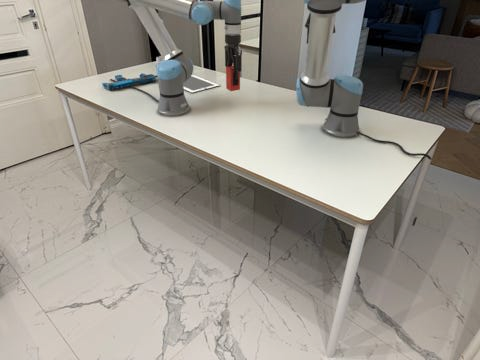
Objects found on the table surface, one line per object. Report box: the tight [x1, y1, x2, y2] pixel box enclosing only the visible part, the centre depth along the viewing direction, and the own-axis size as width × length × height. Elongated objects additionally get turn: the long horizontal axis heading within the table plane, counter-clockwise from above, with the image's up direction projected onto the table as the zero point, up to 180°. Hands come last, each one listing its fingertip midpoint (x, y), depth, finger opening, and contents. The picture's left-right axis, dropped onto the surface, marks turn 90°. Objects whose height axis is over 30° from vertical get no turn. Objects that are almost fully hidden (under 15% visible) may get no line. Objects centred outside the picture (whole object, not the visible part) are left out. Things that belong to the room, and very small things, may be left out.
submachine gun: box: [101, 73, 158, 91], centre depth 209 cm, size 34×4×25 cm
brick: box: [225, 65, 241, 92], centre depth 169 cm, size 5×5×11 cm
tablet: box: [183, 74, 221, 94], centre depth 207 cm, size 32×20×1 cm, turn 41°
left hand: (233, 83), depth 171 cm, fingers closed on brick, 5 cm apart
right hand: (317, 45), depth 167 cm, fingers open, 13 cm apart
